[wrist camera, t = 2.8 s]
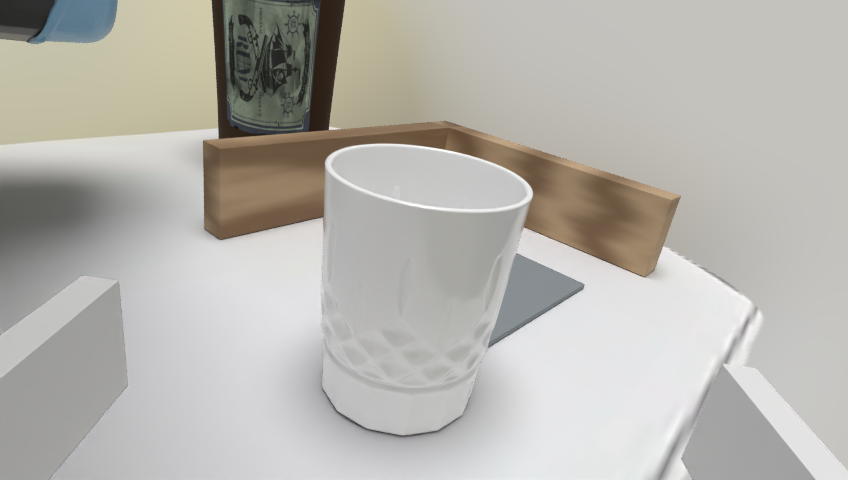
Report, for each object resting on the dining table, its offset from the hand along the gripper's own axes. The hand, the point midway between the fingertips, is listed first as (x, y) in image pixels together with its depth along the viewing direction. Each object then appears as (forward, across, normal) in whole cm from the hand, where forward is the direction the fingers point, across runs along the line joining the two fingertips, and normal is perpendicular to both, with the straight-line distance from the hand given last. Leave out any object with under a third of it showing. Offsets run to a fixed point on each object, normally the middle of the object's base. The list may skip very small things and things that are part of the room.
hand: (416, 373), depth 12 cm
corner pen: (+25, +2, -8) cm, 27 cm away
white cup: (+10, 0, -8) cm, 13 cm away
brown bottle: (+39, -14, -8) cm, 42 cm away
